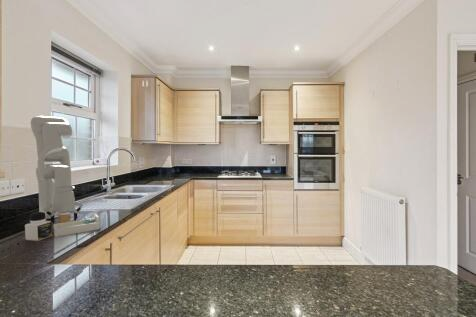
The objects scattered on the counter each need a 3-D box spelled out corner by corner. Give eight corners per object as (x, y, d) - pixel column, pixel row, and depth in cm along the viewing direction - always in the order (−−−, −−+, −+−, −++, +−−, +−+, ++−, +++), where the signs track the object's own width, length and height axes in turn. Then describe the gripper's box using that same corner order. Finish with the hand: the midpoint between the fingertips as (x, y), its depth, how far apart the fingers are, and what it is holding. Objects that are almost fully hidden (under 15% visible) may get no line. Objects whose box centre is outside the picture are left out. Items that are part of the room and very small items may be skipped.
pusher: (84, 224, 143) (84, 216, 143) (93, 222, 146) (93, 215, 146) (86, 227, 137) (86, 219, 137) (96, 226, 139) (96, 218, 139)
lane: (53, 230, 137) (53, 219, 137) (96, 224, 148) (95, 213, 148) (54, 236, 128) (54, 223, 128) (99, 229, 139) (99, 217, 139)
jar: (57, 225, 146) (57, 212, 145) (70, 224, 149) (70, 210, 149) (58, 228, 141) (57, 214, 141) (71, 226, 144) (71, 212, 144)
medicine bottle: (38, 241, 122) (37, 214, 122) (25, 240, 124) (23, 213, 123) (52, 235, 129) (51, 210, 129) (39, 235, 131) (38, 210, 130)
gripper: (81, 187, 152) (82, 217, 153) (43, 190, 142) (44, 223, 143) (82, 188, 146) (84, 220, 147) (43, 192, 136) (44, 226, 137)
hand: (64, 221), depth 145 cm, fingers open, 9 cm apart
